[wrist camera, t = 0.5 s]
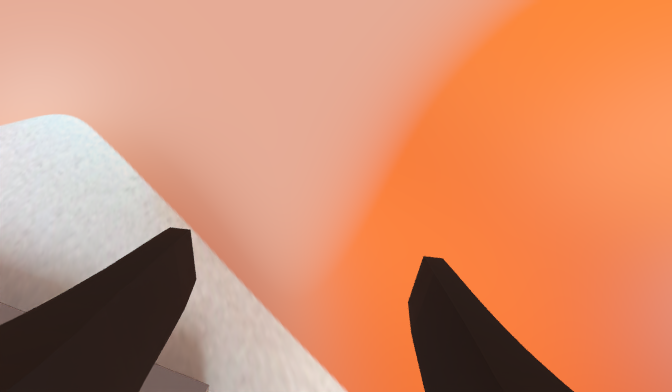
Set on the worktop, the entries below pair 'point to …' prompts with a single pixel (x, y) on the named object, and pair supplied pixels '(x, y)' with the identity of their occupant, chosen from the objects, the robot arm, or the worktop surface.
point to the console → (161, 383)
